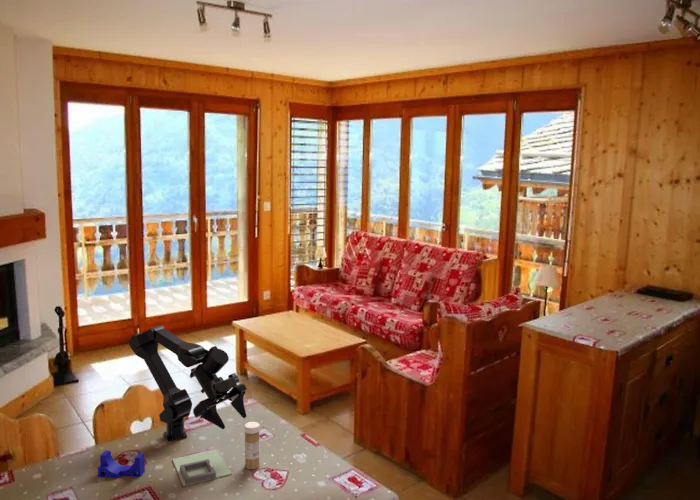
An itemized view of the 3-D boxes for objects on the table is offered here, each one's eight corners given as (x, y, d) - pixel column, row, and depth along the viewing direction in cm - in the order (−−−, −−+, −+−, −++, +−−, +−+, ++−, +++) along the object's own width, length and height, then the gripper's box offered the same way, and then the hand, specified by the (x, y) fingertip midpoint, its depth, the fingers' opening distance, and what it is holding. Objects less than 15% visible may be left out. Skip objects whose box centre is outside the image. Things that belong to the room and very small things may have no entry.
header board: (172, 460, 173) (172, 453, 172) (217, 450, 179) (217, 443, 179) (183, 486, 158) (183, 479, 158) (231, 475, 165) (231, 467, 165)
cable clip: (98, 477, 163) (97, 457, 162) (106, 469, 167) (105, 450, 166) (137, 480, 161) (137, 460, 161) (144, 472, 166) (144, 453, 165)
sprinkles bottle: (257, 461, 173) (257, 420, 171) (261, 468, 169) (261, 426, 167) (242, 464, 171) (242, 422, 169) (246, 471, 167) (246, 429, 165)
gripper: (198, 376, 165) (226, 421, 161) (242, 359, 181) (269, 399, 176) (181, 395, 170) (207, 439, 166) (225, 377, 186) (250, 417, 182)
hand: (235, 422), depth 172 cm, fingers open, 9 cm apart
